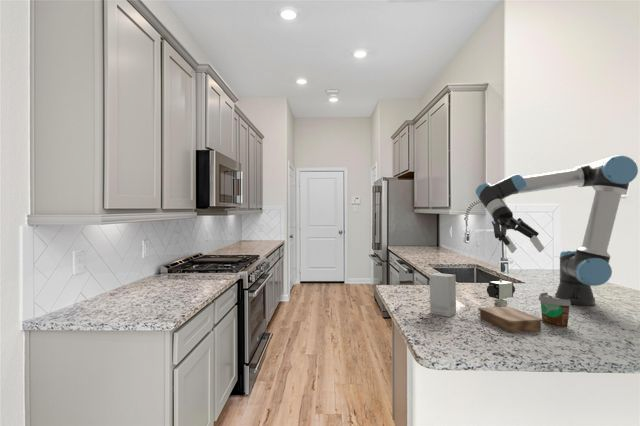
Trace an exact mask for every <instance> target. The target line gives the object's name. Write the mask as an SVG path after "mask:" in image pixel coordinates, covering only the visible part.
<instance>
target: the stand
mask: <svg viewBox="0 0 640 426" xmlns="http://www.w3.org/2000/svg"><path fill="white" fill-rule="evenodd" d="M478 310H479V311H480V315H479V318H480V320H482V321H484V322H487V323H489V324H490V323H491V325H493V326H495V327H497V328H499V329H501V330H503V331H505V332H507V333H524V332H525V333H526V332H527V333H529V332H541V331H542V321H543V319H542V317H541V318H540V317H538V316H535V315H532V314H530V313H526V312H524V311H522V310H519V309H518V308H514V307H512V306H506V307H494V306H493V307H492V306H489V307H485V306H484V307H478Z"/></svg>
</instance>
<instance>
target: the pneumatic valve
mask: <svg viewBox="0 0 640 426" xmlns="http://www.w3.org/2000/svg"><path fill="white" fill-rule="evenodd" d="M515 292H516V287H515V285H514V282H513V281H508V280H507V281H506V280H503V279H499V280H498V281H497V280H496V281H495V280H494V281H488V285H487V287H486V294H488V297H489V298H492V299H494V303H493V307H508V301H507V300H506V299H509V298H514V293H515Z"/></svg>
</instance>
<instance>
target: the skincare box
mask: <svg viewBox="0 0 640 426" xmlns="http://www.w3.org/2000/svg"><path fill="white" fill-rule="evenodd" d="M456 282H457V281H456V274H449V273H441V272H440V273H439V272H436V273H432V274H430V275H429V305H430V306H429V308H430V309H429V310H430V311H429V312H430V314H432V315H438V316H443V317H447V318H451V317H452V316H455V315H456V314H457V297H456V295H457V290H456V289H457V288H456V285H457V284H456Z"/></svg>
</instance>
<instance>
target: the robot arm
mask: <svg viewBox="0 0 640 426" xmlns="http://www.w3.org/2000/svg"><path fill="white" fill-rule="evenodd" d="M638 171H639V168H638V165H637V163H636V162H635V161H634V159H632V158H631V157H629V156H626V155H612V156H608V157H606V158H602V159H599V160H596V161H593V162H590V163H587V164H582V165H578V166H575V167H574V168H572V169H565V170H561V171H560V170H559V171H553V172H546V173H541V174H533V175H526V176H523V175H522V174H520V173H515V174H511V176H508V177H506V178H504V179H502V180H501V179H500V180H498V181H497V182H496V183H493V184H491V183H490V182H483V183H481V184H479V185H478V186H477V187H476V189H475V194H476V196H477V197H478V200H479V201H480V202H481V204H482V205H483V206H484V208H485V209H486V210H487V212H488V213H489V215H490V216H491V218H492V221H491V224H492V226H493V234H494V239H498V241H499V242H503V244H504V245H505V246H506V247H507V248H508V250H509V251H510V253H511V254H513V253H514V252H516V250H517V249H518V248H517V246H516V245H515V244H514V242H513V240H512V239H511V238H510V237H509V235H506V234H507V230H512V231H515V232H519V233H520V234H522V235H524V236H526V237H527V238H529V241H530V242H531V243H532V245H533V246H534V248H535V249H536V250H537V251H538V253H541V252H542V251H543V250H544V249H546V248H545V246H544V245H543V243H542V242H541V240H540V239H539V238H538V237H537V236H539V234H540V233H539V232H538V231H537V230H536V229H534V228H533V227H531V226H530V225H529V224H527V223H526V222H524V220H523V219H522V218H521V217H519V218H518V219H516V218H515V217H514V213H513V212H512V210H511V209H510V208H509V207H508V205H507V204H506V202H505V201H504V200H503V199H505V198H508V197H510V196H512V195H518V194H525V193H531V192H539V191H547V190H553V189H560V188H567V187H575V186H577V187H578V188H583V187H592V188H593V190H594V191H595V192H594V197H593V199H592V200H593V201H592V204H591V208H590V213H589V215H588V221H587V224H586V229H585V231H584V233H585V234H584V237H583V242H582V244H581V246H580V247H578V248H577V249H576V250H562V251H561V252H560V254H559V255H560V256H559V283H558V287H557V289H556V292H555V293H554V297H558V298H560V299H564V300H570V302H571V305H576V306H594V305H596V298H595V297H594V292H593V290H592V286H593V287H597V286H598V287H599V286H601V285H604V284H605V283H607V282H608V281H609V280H610V279H611V278H612V273H613V271H612V267H611V264H610V261H611V255H610V254H609V252H608V248H609V245H610V241H611V237H612V232H613V229H614V225H615V220H616V217H617V212H618V210H619V209H618V208H619V205H620V201H621V198H622V195H623V194H625V193H627V192H628V189H629V185H630V183H631V182H633V181H634V180H635V178H636V177H637V175H638V173H639V172H638Z"/></svg>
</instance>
